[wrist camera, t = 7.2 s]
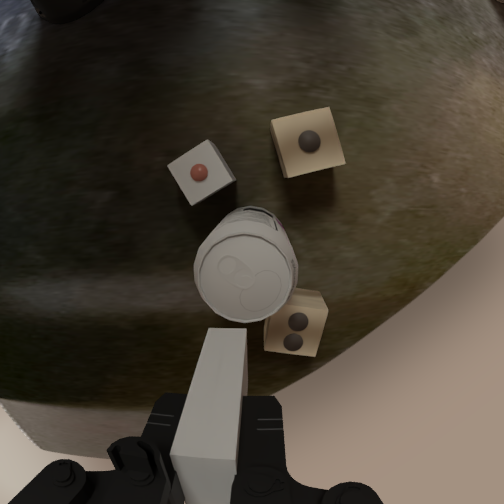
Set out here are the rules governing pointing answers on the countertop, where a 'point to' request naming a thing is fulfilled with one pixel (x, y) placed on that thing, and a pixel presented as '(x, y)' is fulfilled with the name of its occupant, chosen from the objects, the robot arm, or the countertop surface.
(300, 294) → the maple block
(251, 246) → the supplement can
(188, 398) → the robot arm
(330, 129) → the maple block
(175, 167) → the grey plastic block
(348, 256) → the countertop surface
